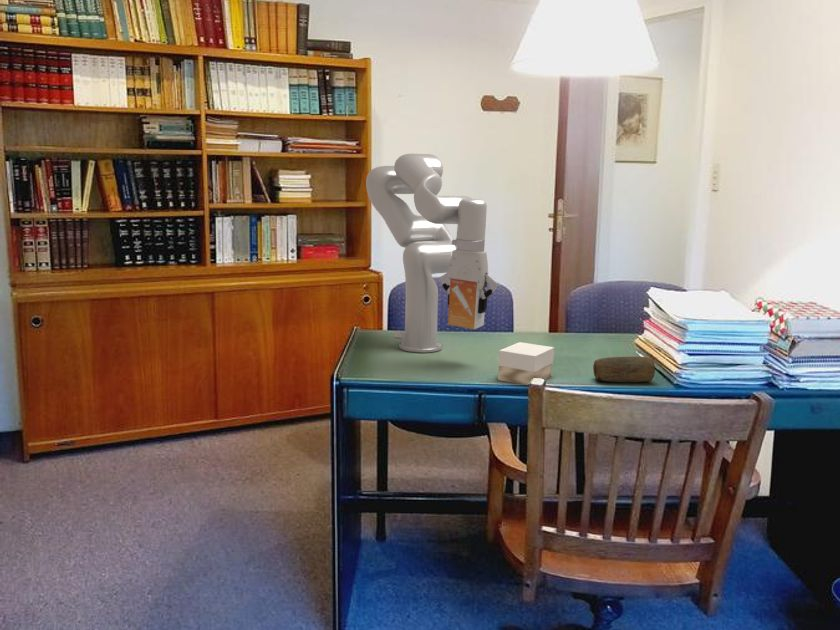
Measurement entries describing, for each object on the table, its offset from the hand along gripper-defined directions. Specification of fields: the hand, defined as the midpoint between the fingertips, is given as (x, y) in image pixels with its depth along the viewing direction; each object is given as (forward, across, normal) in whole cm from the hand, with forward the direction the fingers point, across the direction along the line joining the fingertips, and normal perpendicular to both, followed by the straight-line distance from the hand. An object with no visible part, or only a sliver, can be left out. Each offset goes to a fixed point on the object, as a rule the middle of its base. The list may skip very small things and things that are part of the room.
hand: (466, 310), depth 209 cm
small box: (+4, 0, 0) cm, 4 cm away
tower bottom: (+15, +19, -4) cm, 25 cm away
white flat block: (+11, +19, -3) cm, 22 cm away
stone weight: (+14, +42, +7) cm, 45 cm away
